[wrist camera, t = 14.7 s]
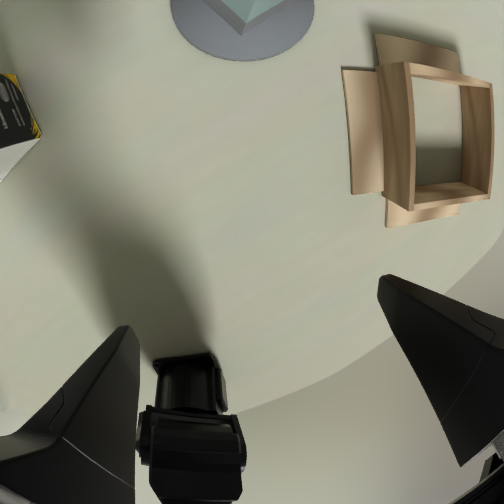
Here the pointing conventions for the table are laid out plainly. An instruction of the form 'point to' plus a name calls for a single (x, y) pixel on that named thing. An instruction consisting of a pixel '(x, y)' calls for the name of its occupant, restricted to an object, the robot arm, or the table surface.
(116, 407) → the robot arm
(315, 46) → the table surface
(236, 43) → the mat
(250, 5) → the slim box
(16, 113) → the medicine bottle
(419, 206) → the carton
